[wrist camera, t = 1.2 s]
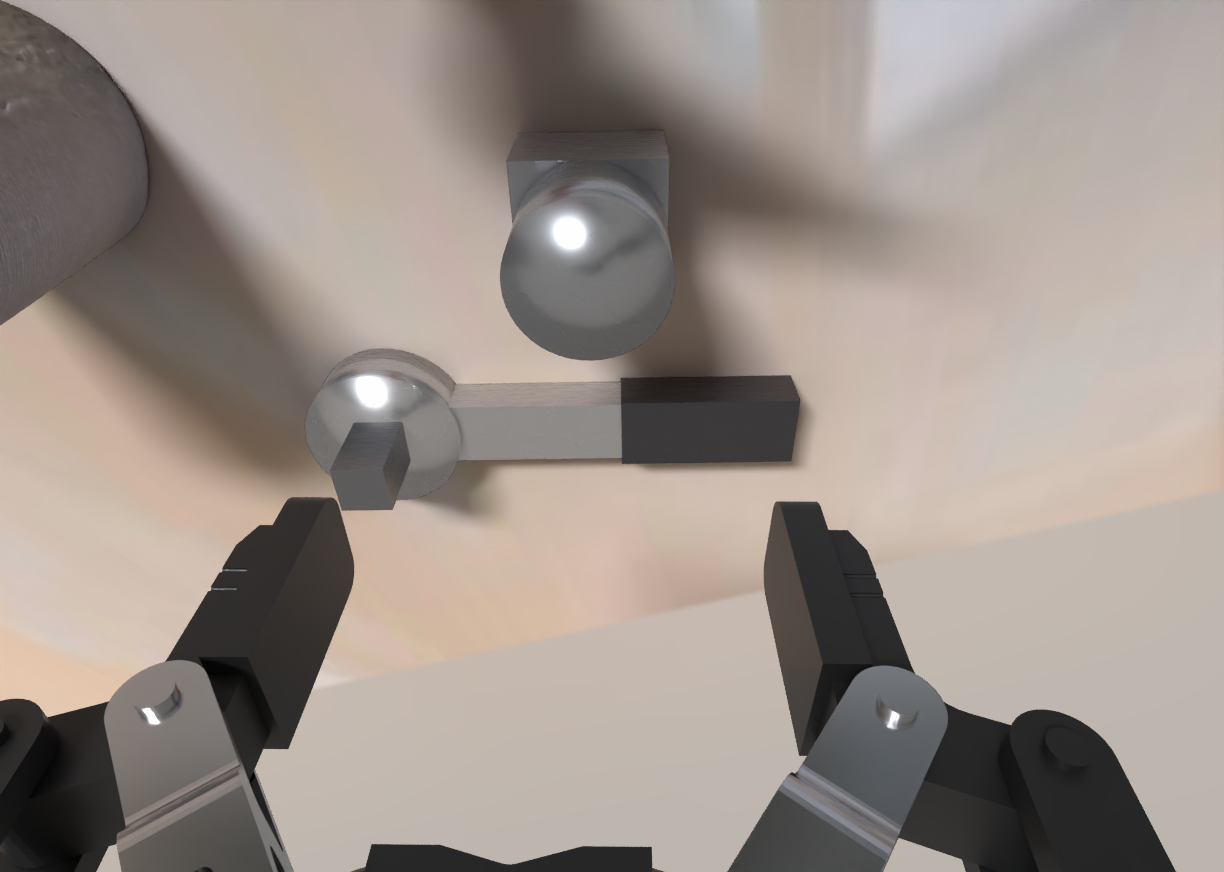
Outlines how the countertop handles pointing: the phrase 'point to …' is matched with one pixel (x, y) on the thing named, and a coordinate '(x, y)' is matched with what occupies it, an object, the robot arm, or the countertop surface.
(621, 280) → the cylinder on square block
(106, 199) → the pillar candle
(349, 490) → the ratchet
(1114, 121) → the countertop surface
